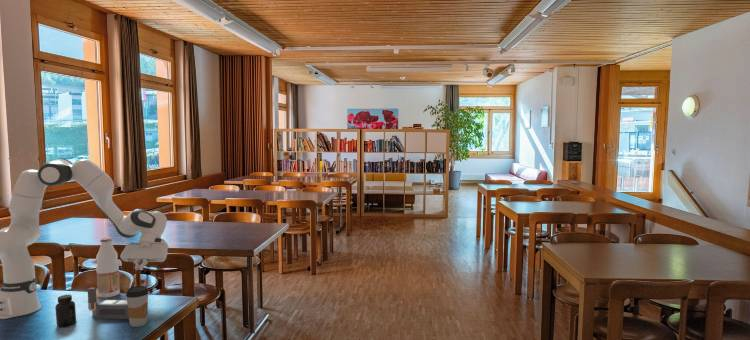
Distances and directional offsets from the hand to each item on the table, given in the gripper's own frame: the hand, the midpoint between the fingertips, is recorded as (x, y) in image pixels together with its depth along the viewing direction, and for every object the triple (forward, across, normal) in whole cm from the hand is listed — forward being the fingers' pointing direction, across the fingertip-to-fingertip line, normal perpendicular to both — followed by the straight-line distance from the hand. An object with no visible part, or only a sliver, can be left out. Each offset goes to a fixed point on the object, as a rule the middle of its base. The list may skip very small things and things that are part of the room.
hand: (138, 269), depth 210 cm
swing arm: (+19, -9, -6) cm, 22 cm away
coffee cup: (+26, +10, -1) cm, 28 cm away
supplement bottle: (+27, -19, -2) cm, 33 cm away
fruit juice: (+2, -24, +23) cm, 33 cm away
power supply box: (+21, -6, +4) cm, 22 cm away
